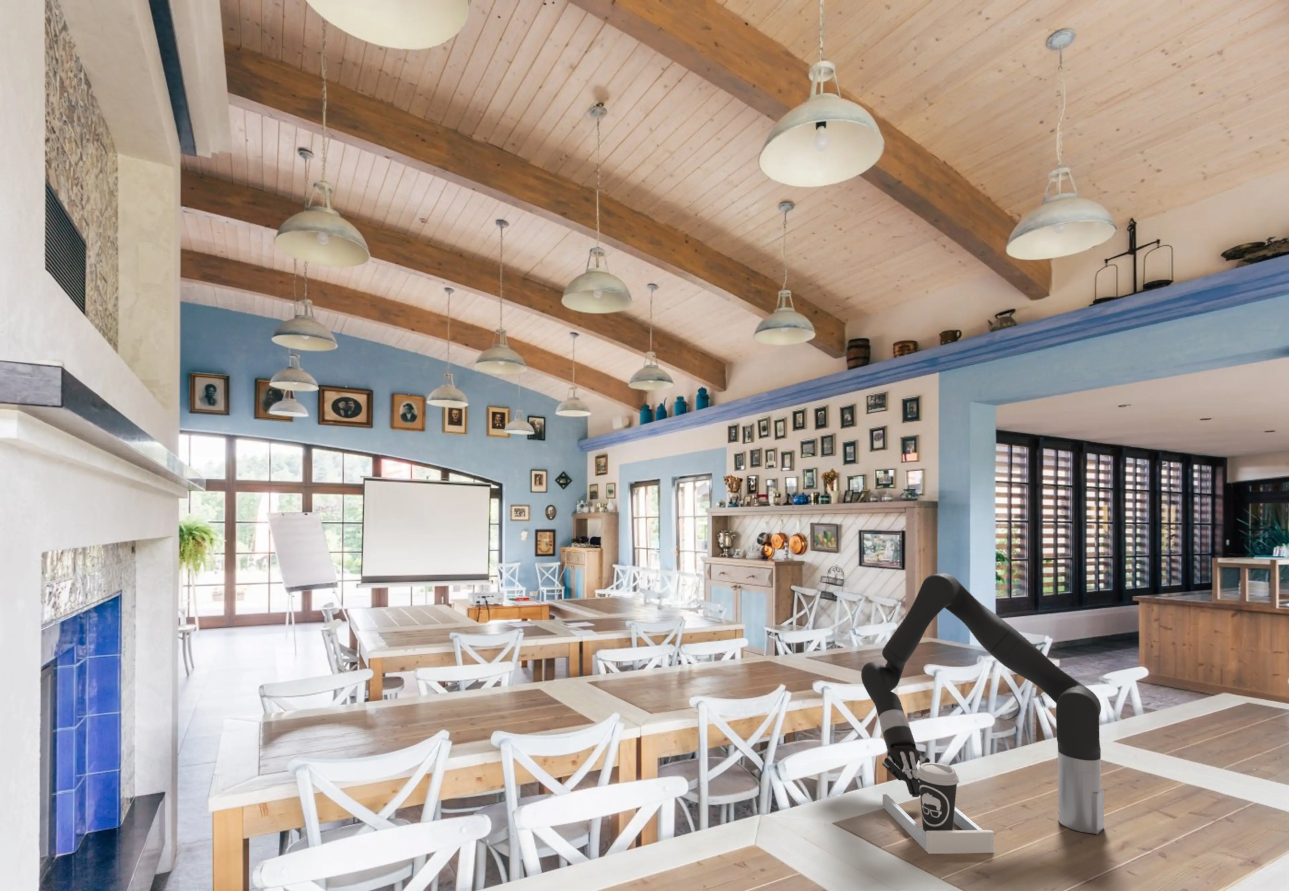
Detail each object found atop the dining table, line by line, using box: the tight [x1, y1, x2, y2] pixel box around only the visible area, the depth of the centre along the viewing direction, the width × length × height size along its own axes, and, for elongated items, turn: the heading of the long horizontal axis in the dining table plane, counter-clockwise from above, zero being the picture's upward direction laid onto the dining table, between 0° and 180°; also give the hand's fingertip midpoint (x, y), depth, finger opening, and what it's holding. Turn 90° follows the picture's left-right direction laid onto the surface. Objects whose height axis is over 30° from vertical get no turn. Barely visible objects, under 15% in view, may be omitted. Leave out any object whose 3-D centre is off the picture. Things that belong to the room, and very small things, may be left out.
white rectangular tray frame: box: [881, 793, 995, 855], centre depth 179 cm, size 25×15×4 cm, turn 5°
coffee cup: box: [917, 762, 960, 832], centre depth 177 cm, size 10×10×15 cm
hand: (916, 795), depth 188 cm, fingers closed
